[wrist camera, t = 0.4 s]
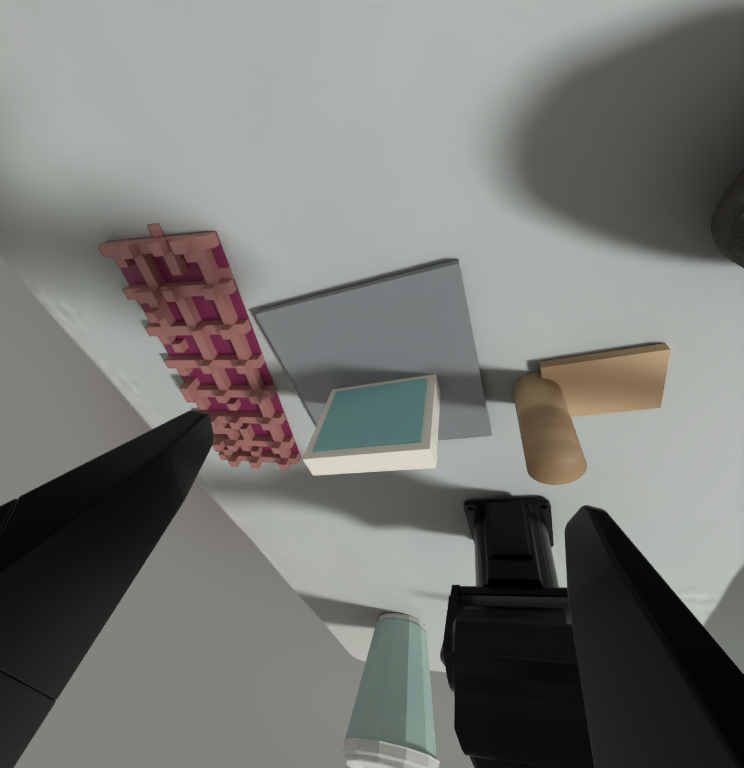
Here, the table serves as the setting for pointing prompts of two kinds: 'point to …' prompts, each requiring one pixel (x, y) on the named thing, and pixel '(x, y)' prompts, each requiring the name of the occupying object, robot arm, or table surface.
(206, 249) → the red lattice rack
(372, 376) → the mat
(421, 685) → the disposable coffee cup
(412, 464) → the tile
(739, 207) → the stone
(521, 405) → the turner
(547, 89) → the table surface
